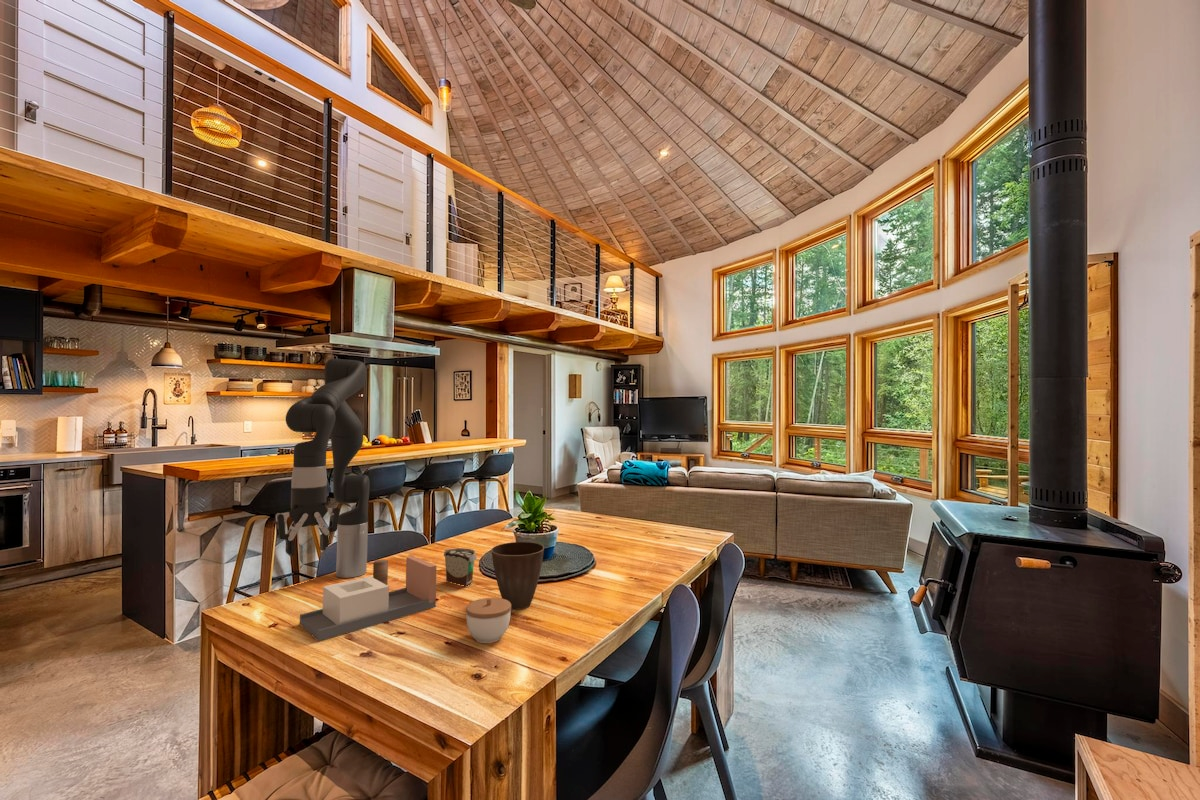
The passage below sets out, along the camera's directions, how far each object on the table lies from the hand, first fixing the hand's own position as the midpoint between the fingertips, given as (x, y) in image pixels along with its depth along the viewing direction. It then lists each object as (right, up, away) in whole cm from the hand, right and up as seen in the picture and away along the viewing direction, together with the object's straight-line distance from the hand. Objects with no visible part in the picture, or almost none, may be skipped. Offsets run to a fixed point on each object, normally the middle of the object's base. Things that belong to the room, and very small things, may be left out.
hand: (307, 552), depth 122 cm
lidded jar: (+45, -20, -2) cm, 49 cm away
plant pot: (+49, -21, +19) cm, 56 cm away
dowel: (+7, -21, +26) cm, 34 cm away
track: (+11, -20, +11) cm, 25 cm away
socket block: (+8, -18, +8) cm, 22 cm away
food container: (+28, -22, +38) cm, 52 cm away
